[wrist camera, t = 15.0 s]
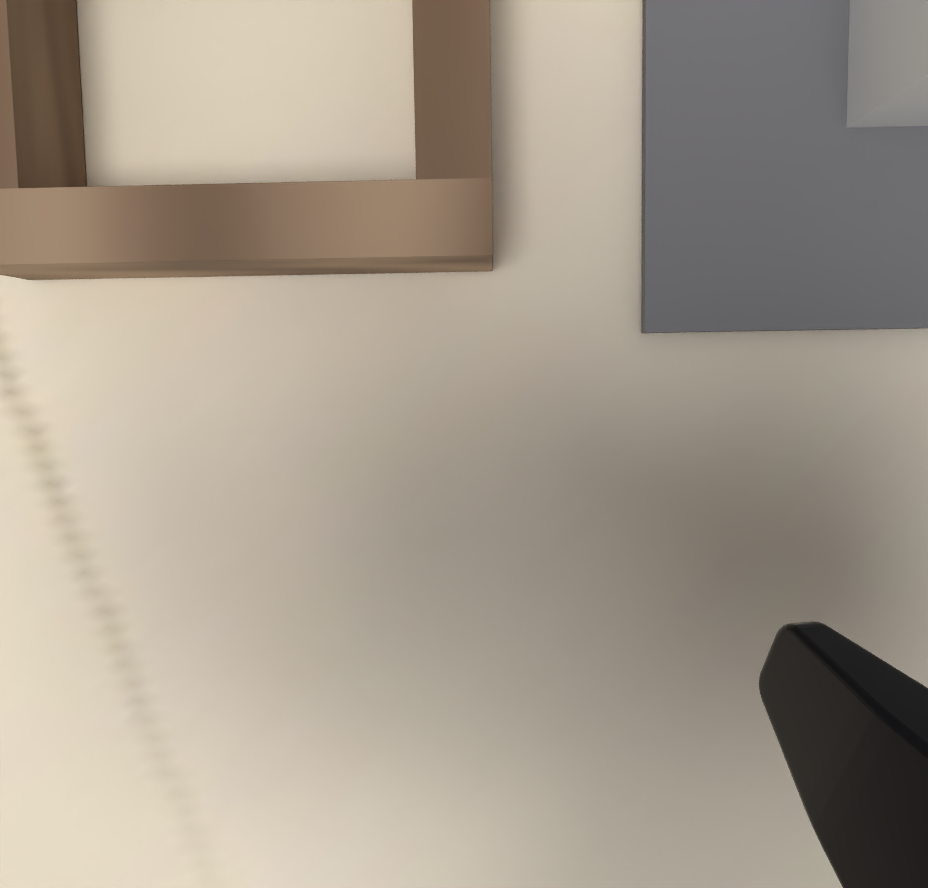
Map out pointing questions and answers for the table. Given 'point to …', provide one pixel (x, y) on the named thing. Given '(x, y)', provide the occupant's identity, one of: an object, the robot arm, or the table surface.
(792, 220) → the rubber mat
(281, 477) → the table surface
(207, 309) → the table surface
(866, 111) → the grey parts box
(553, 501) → the table surface
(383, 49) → the table surface
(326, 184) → the frame
